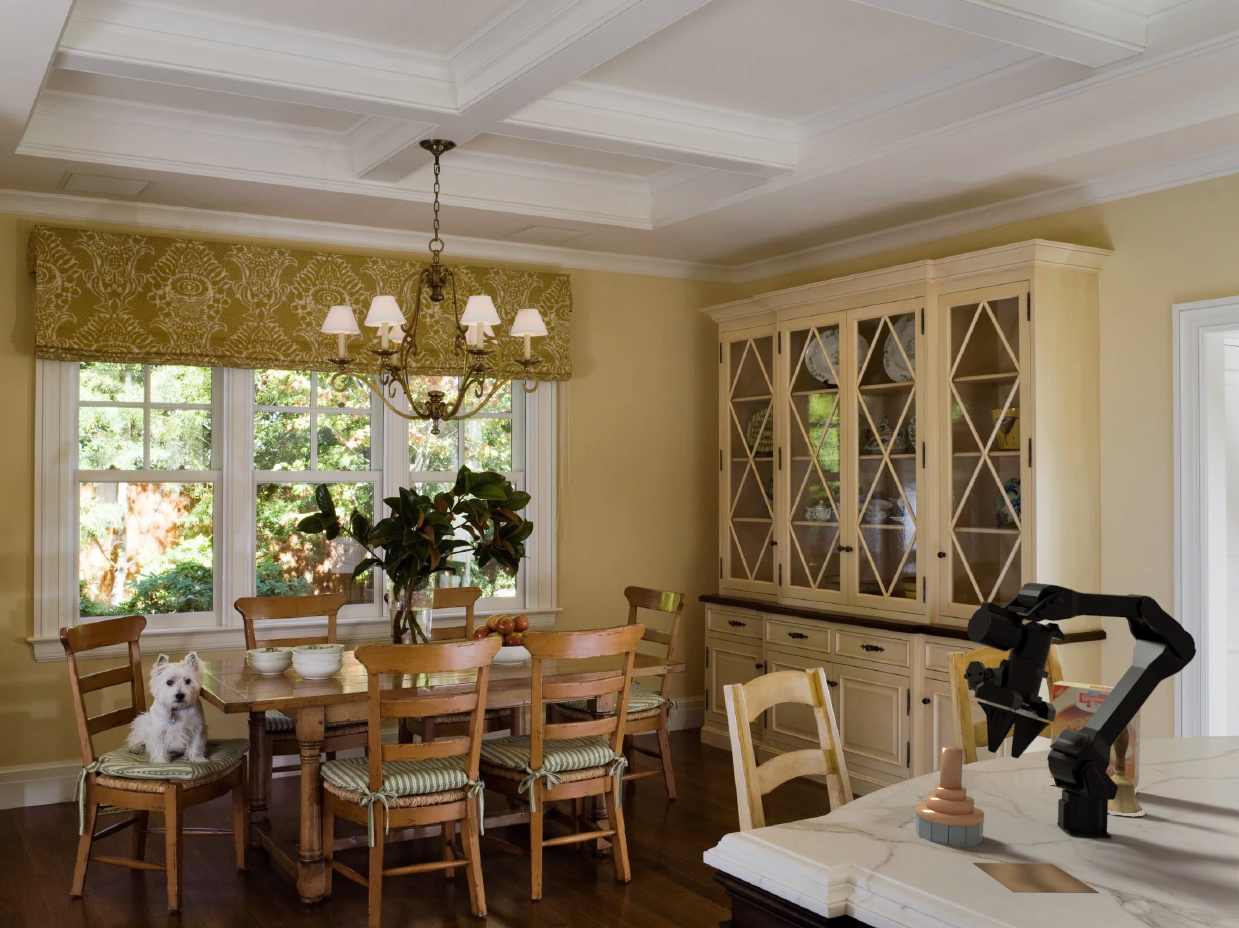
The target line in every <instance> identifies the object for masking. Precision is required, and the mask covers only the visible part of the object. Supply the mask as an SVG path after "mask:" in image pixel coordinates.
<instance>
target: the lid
mask: <svg viewBox="0 0 1239 928" xmlns="http://www.w3.org/2000/svg"><path fill="white" fill-rule="evenodd" d="M963 752H964V749H963V748H961V747H957V746H952V745H943V746H940V771H939V772H940V775H939V776H940V778H939V783H937V784H935V785H934V791H931V792H928V793H927V794H926V801H925V800H924V801H920V802H918V803H917V804H916V806H915V807H916V808H915V814H916V815H917V816H918V817H920V818H922V819H924V820H927V821H930V822H934V823H938V824H944V825H951V826H977V825H981V824H983V825H984V823H985V812H984V811H983V810H982V809H980V808H977V807H975V799H974V798H973V797H972V796H969V795H967V788H966V787H964V786H963V782H962V781H963V758H964V757H963V754H964V753H963ZM916 815H915V816H916Z"/></svg>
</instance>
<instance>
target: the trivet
mask: <svg viewBox="0 0 1239 928" xmlns="http://www.w3.org/2000/svg"><path fill="white" fill-rule="evenodd" d="M972 864H973V865H974V866H976V867H977V868H978V869H980V870H981V871H983V873H985V874H987V875H988V876H990V877H991V878H992V879H994V880H995V881H997V882H998V883H1000V885H1002V886H1004V887H1005V888H1007V889H1008V890H1009V891H1011V892H1012V893H1047V894H1048V893H1054V894H1057V893H1059V894H1060V893H1061V894H1062V893H1064V894H1067V893H1068V894H1069V893H1072V894H1075V893H1076V894H1081V893H1082V894H1099V893H1100V892H1099V891H1097V890H1096V889H1094V888H1093V887H1091V886H1089V885H1087V884H1086V883H1085V882H1083V881H1081V880H1080V879H1078V878H1077V877H1075V876H1073V875H1071V874H1069V873H1068V872H1067V871H1065V870H1063V869H1062V868H1060V867H1059V866H1057V865H1055V864H1053V863H1031V862H1030V863H1029V862H1028V863H1027V862H1026V863H1024V862H1023V863H1022V862H1021V863H1018V862H972Z"/></svg>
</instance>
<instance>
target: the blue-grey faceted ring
mask: <svg viewBox="0 0 1239 928" xmlns="http://www.w3.org/2000/svg"><path fill="white" fill-rule="evenodd" d="M915 833H916V835H917V836H918V837H919V838H921V839H923V840H926V841H928V842H931V843H935V844H939V845H946V846H953V847H971V846H977V845H980V844H981V843H982V842H983V839H984V823H983V824H981V825H977V826H951V825H944V824H938V823H934V822H930V821H927V820H924V819H922V818H920V817H918V816H917V815H915Z"/></svg>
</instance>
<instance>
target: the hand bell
mask: <svg viewBox="0 0 1239 928" xmlns="http://www.w3.org/2000/svg"><path fill="white" fill-rule="evenodd" d="M1128 744H1129V733H1128V729H1127V726H1126V728H1125V729H1124V730H1123V732H1122V733H1121V734H1120V736H1119V737H1118V738H1117V739H1116V741H1115V742H1114V743H1113V745H1114V749H1115V754H1116V760H1115V766H1116V767H1115V774H1114V776H1112V777H1110V778H1111V779H1112V780H1113V781H1114V783H1115V784H1116V785H1117V786H1118V790H1117V793H1116V796H1115V799H1114V800H1108V810H1110V811H1117V812H1121V813H1137V812H1139V811H1142V809H1143V807H1141V805H1140V803H1139V801H1138V799H1137V796H1136V795H1135V791H1134V783H1133V782H1132V781H1131V780H1129V779H1128V778H1127V777H1126V776H1125V755H1126V751H1127V749H1128Z"/></svg>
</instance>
